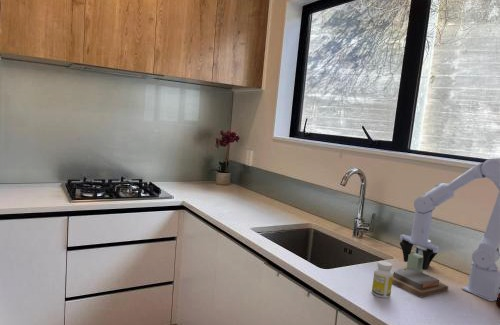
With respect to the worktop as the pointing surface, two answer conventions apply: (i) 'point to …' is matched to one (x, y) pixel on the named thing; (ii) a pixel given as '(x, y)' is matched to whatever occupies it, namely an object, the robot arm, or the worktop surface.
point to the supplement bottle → (382, 280)
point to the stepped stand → (418, 282)
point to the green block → (415, 262)
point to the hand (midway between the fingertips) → (415, 265)
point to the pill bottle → (421, 249)
